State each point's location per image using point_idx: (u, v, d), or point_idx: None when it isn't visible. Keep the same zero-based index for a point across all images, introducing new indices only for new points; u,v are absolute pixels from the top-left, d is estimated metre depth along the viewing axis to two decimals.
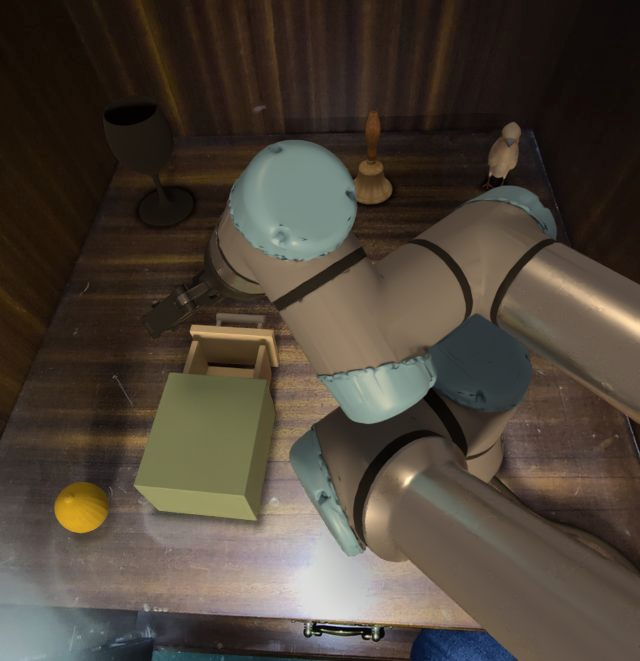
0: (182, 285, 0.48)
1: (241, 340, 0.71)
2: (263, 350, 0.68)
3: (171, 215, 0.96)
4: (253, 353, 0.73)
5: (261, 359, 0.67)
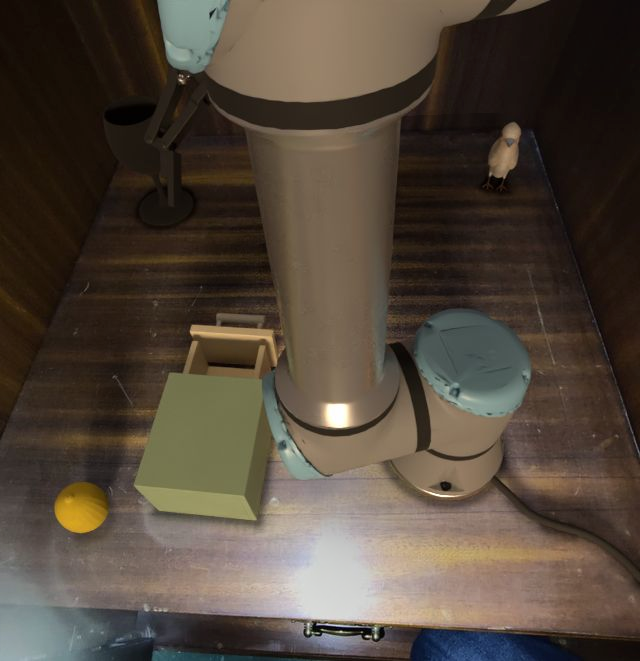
0: None
1: (241, 340, 0.71)
2: (263, 350, 0.68)
3: (171, 215, 0.96)
4: (253, 353, 0.73)
5: (261, 359, 0.67)
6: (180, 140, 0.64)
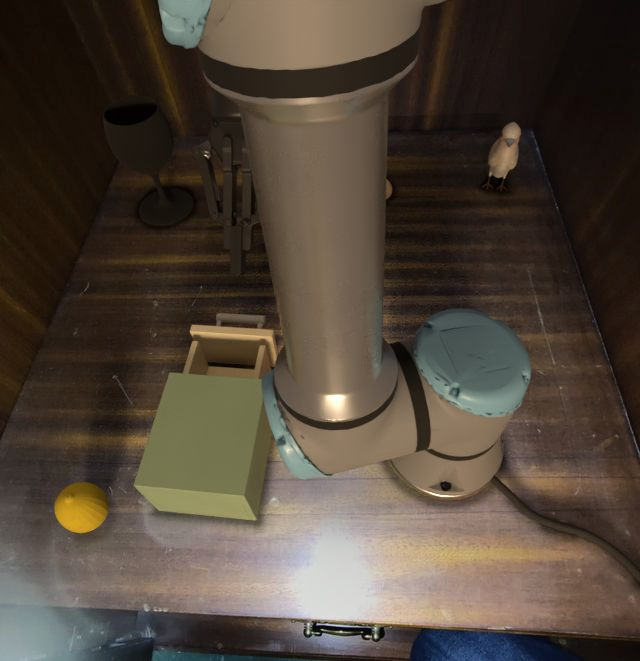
0: None
1: (241, 340, 0.71)
2: (263, 350, 0.68)
3: (171, 215, 0.96)
4: (253, 353, 0.73)
5: (261, 359, 0.67)
6: (235, 209, 0.71)
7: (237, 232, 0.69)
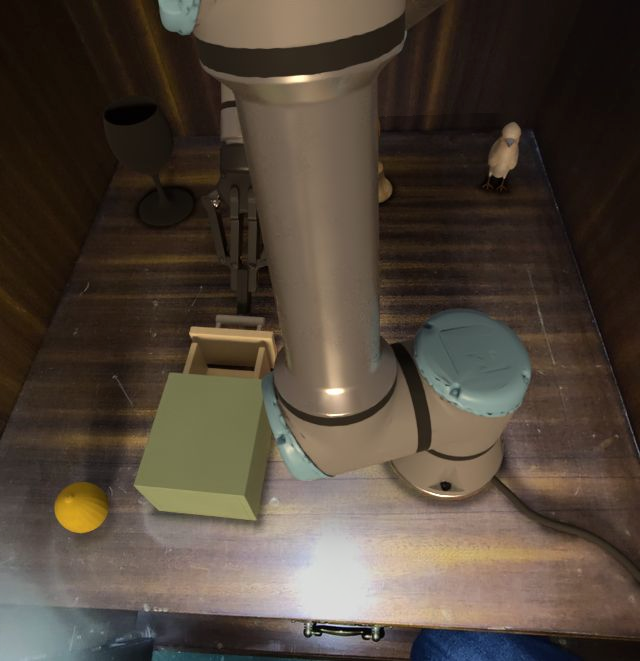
0: None
1: (241, 342, 0.70)
2: (263, 352, 0.68)
3: (171, 215, 0.96)
4: (253, 355, 0.73)
5: (261, 361, 0.67)
6: (241, 253, 0.75)
7: (243, 275, 0.74)
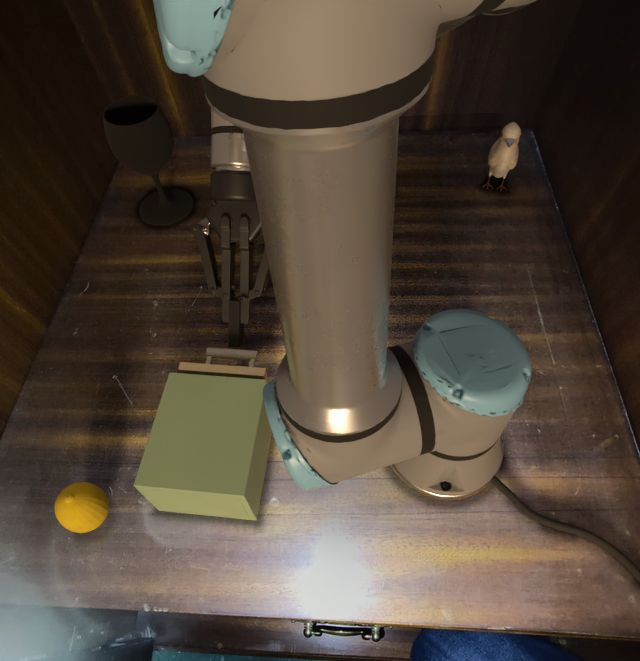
0: None
1: None
2: None
3: (171, 215, 0.96)
4: None
5: None
6: (233, 283, 0.72)
7: (235, 307, 0.71)
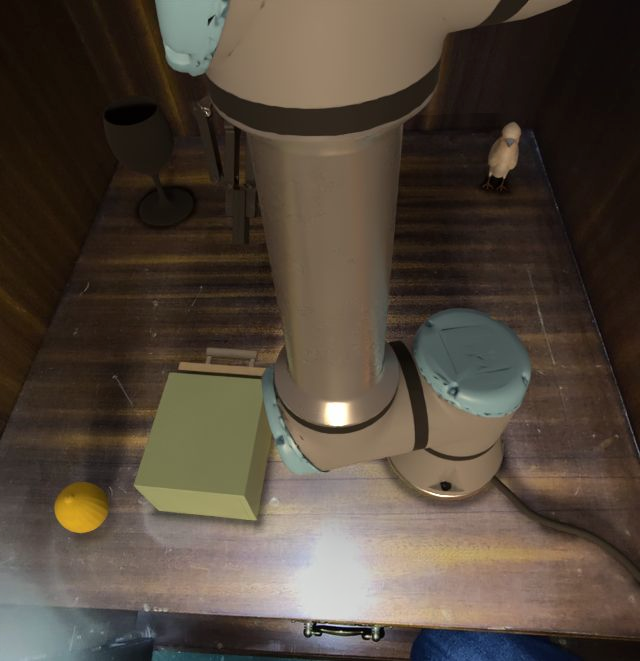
0: None
1: None
2: None
3: (171, 215, 0.96)
4: None
5: None
6: (238, 172, 0.65)
7: (240, 197, 0.63)
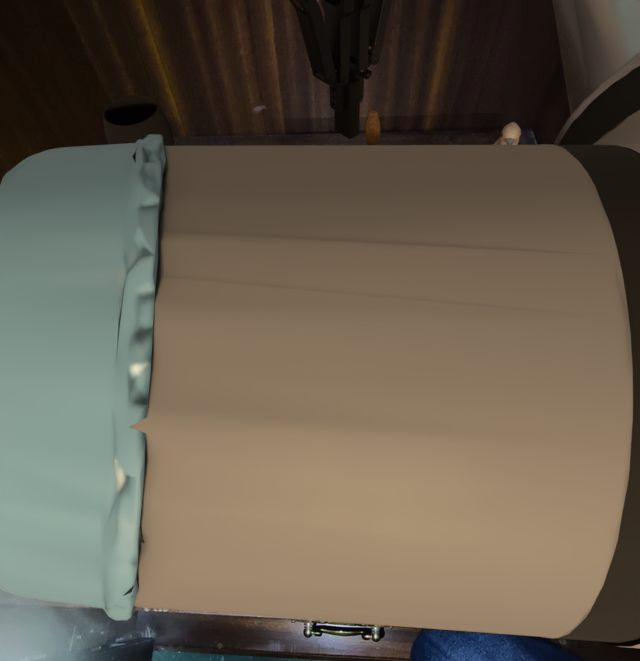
0: None
1: None
2: None
3: None
4: None
5: None
6: None
7: (356, 89, 0.56)
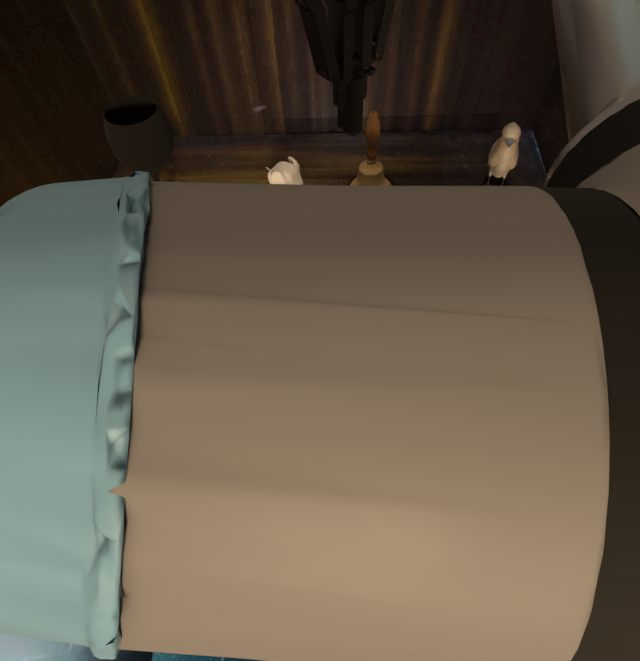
0: None
1: None
2: None
3: None
4: None
5: None
6: None
7: (359, 86, 0.55)
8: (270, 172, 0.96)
